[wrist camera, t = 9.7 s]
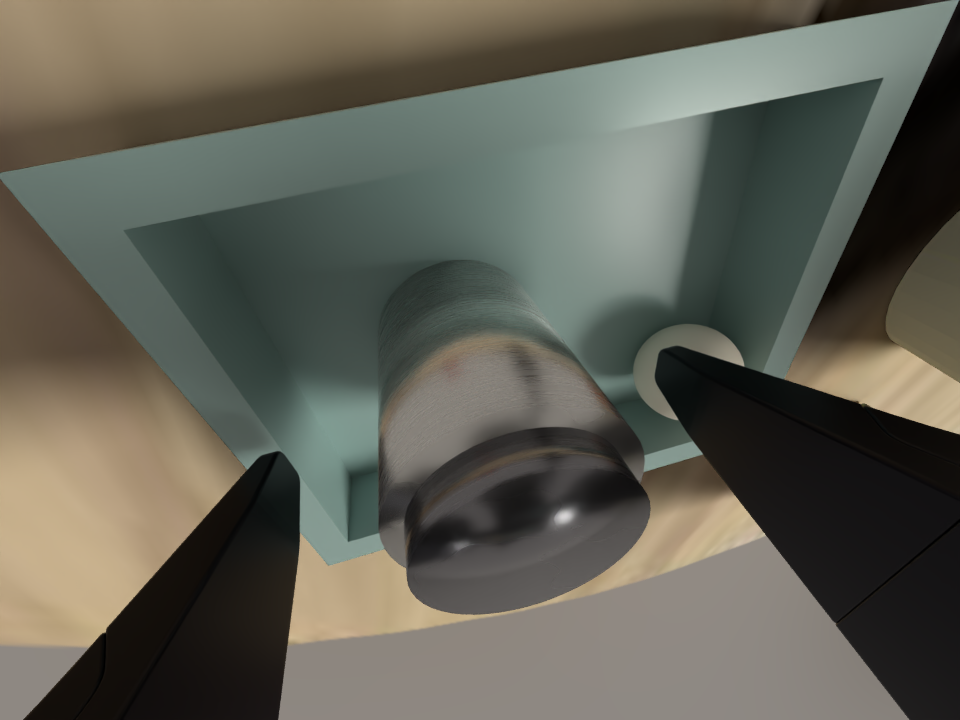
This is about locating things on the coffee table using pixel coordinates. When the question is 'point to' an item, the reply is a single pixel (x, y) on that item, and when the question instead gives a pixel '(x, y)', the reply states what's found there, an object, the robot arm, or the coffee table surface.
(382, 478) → the cylinder
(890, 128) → the tray
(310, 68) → the coffee table surface
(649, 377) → the ball
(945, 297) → the reusable coffee cup
